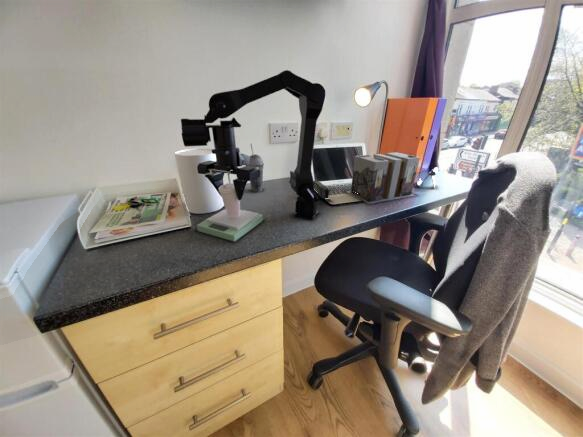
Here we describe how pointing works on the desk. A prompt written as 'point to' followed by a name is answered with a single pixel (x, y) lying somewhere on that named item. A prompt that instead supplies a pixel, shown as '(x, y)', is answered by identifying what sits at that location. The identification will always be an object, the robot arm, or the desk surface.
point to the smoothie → (230, 199)
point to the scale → (230, 224)
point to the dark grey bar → (321, 190)
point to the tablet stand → (427, 176)
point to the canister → (197, 181)
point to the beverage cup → (258, 162)
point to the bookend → (383, 176)
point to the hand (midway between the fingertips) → (231, 198)
